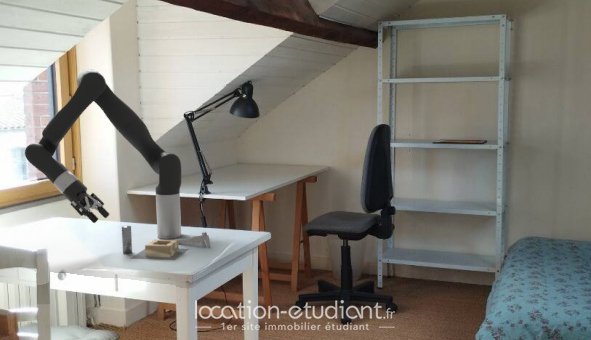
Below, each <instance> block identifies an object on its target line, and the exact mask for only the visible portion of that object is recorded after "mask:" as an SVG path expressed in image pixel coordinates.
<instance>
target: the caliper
mask: <svg viewBox="0 0 591 340" xmlns="http://www.w3.org/2000/svg"><path fill="white" fill-rule="evenodd" d="M207 233H208V232H207V231H205V232H201V235H196V236H192V237H187V238H176V240H178V244H187V243H192V245H195V244H196V245H197V244H200V245H201V246H202V247H201V248H208V249H209V248H210V247H211V239H210V236H209V234H207Z"/></svg>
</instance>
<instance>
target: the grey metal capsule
mask: <svg viewBox="0 0 591 340" xmlns="http://www.w3.org/2000/svg"><path fill="white" fill-rule="evenodd" d="M132 239H133V237H132V226H131V225H123V226H121V241H122V242H121V243H122V254H123V255H131V254H133V242H132V241H133V240H132Z"/></svg>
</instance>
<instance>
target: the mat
mask: <svg viewBox="0 0 591 340" xmlns="http://www.w3.org/2000/svg"><path fill="white" fill-rule="evenodd" d="M188 250H189V248H179V251H178V252H177V253H176V254H174V255H173V256H171V257H170V258H167V257H146V254H145V248H144V249H142V250H141V251H139V252H138V253H136V254H135V255H133V256H131V257H130V258H129V259H136V260H161V261H162V260H164V261H175V260H176V259H178V258H179V257H181V256H182V255H183V254H185V253H186V252H187V251H188Z"/></svg>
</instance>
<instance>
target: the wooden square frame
mask: <svg viewBox="0 0 591 340" xmlns="http://www.w3.org/2000/svg"><path fill="white" fill-rule="evenodd" d="M144 249H145V254H146V257H167V258H170V257H171V256H173V255H174V254H176V253H177V252H178V251H179V249H180V248H179V243H178V240H177V239H154V240H152V241H150V242H148V243H147V244H146V245H144Z"/></svg>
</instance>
